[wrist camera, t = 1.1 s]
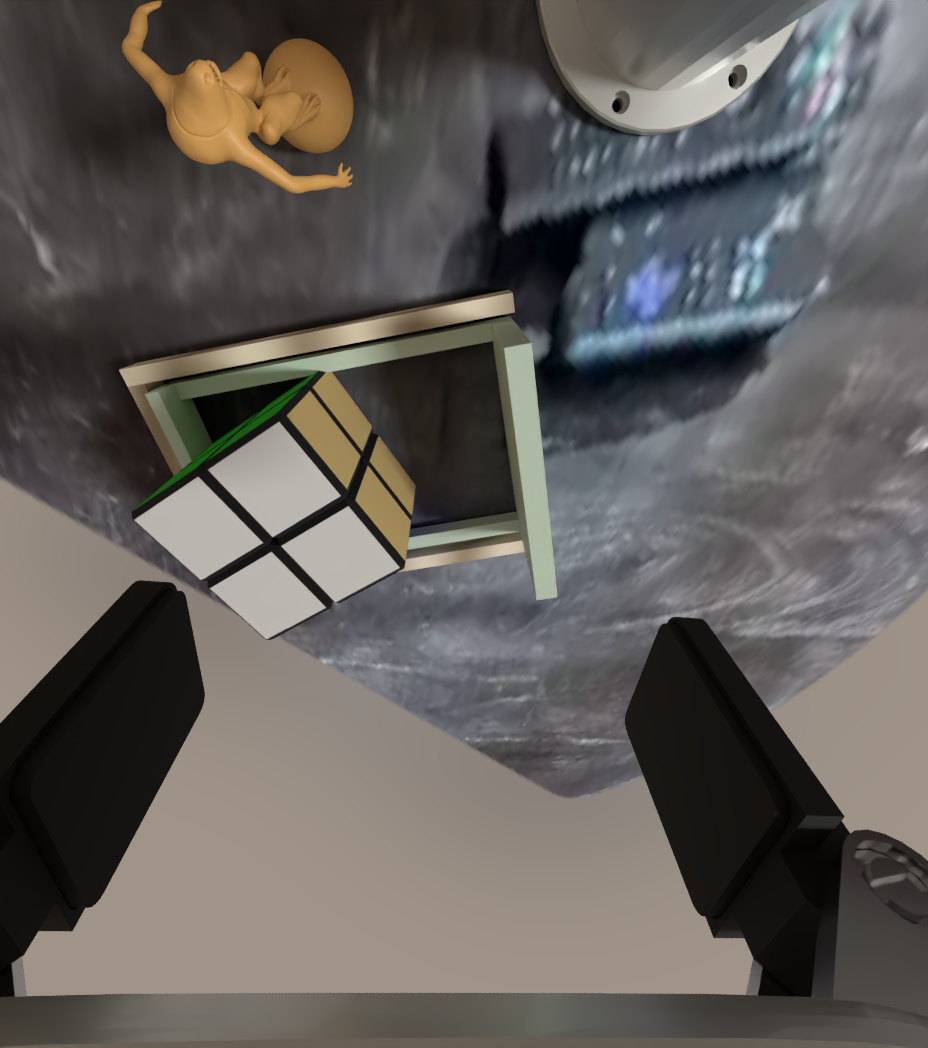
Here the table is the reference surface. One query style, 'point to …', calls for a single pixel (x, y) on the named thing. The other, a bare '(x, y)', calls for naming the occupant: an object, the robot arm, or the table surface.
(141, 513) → the puzzle cube
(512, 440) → the green frame
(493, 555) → the frame
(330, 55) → the figurine
